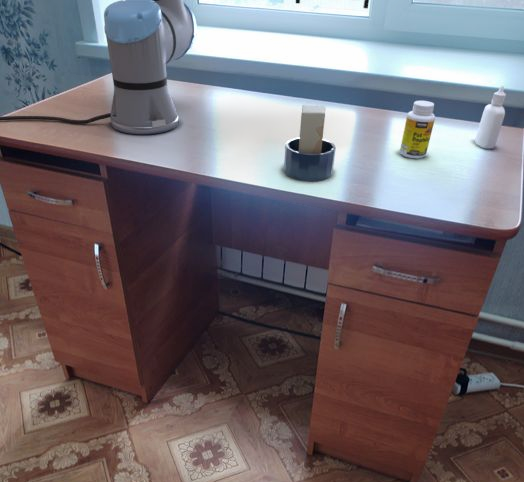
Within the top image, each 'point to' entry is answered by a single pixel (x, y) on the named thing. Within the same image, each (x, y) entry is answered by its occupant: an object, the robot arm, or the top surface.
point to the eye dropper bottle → (491, 121)
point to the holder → (309, 162)
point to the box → (311, 129)
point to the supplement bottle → (418, 130)
